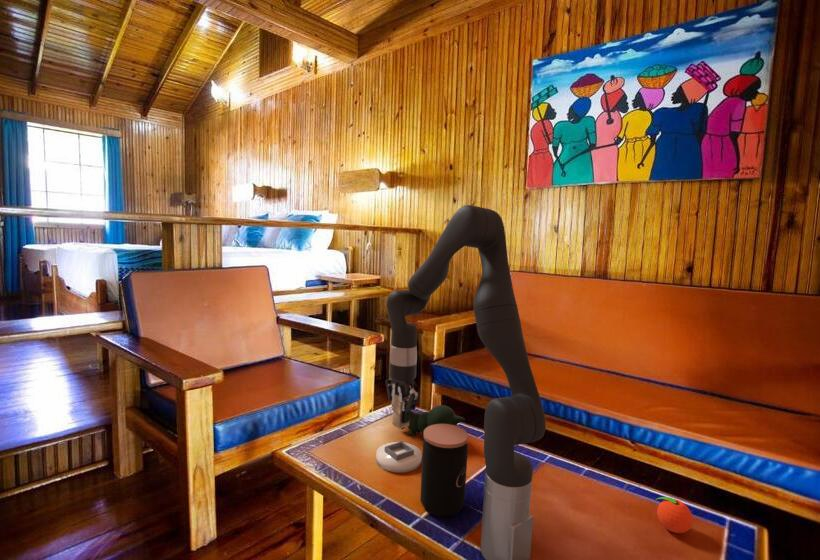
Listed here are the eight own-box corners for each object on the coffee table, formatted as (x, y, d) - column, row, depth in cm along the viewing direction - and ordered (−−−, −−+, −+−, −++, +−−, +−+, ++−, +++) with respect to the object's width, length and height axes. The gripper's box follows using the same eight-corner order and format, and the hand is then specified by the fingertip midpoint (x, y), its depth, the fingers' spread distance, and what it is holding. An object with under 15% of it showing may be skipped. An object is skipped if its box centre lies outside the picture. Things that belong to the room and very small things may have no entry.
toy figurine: (388, 437, 141) (460, 452, 128) (385, 380, 139) (458, 389, 127) (402, 426, 149) (471, 439, 137) (400, 372, 147) (469, 380, 135)
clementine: (646, 526, 100) (649, 497, 99) (655, 513, 105) (659, 485, 104) (686, 545, 94) (690, 514, 93) (694, 530, 99) (698, 501, 98)
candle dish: (430, 463, 123) (431, 451, 122) (393, 477, 115) (393, 465, 114) (403, 444, 133) (404, 433, 133) (367, 456, 125) (367, 444, 125)
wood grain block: (409, 425, 122) (410, 395, 121) (399, 428, 120) (400, 398, 119) (401, 421, 125) (403, 391, 124) (392, 424, 123) (393, 393, 122)
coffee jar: (462, 522, 99) (466, 447, 96) (416, 514, 101) (419, 440, 98) (465, 494, 109) (469, 426, 107) (424, 487, 111) (427, 421, 109)
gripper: (429, 365, 117) (426, 426, 119) (399, 352, 128) (397, 407, 130) (407, 370, 113) (404, 433, 115) (378, 356, 124) (376, 413, 126)
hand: (400, 419), depth 123 cm, fingers closed on wood grain block, 3 cm apart
